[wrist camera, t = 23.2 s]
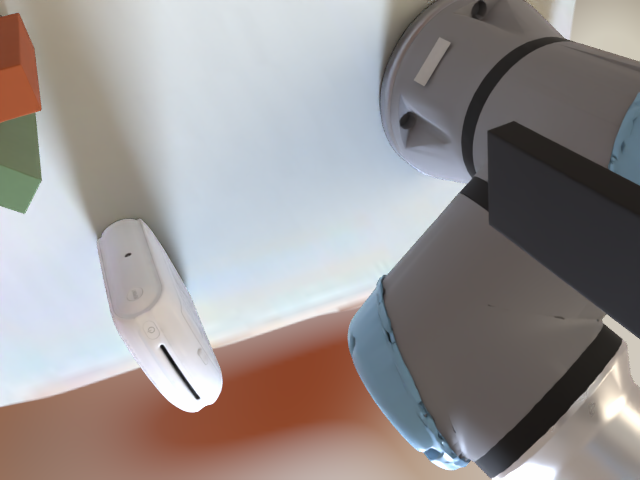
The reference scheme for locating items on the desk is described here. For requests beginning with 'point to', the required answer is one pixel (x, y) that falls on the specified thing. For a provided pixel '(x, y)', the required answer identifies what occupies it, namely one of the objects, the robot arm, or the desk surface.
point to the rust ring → (17, 70)
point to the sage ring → (19, 162)
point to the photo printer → (157, 316)
